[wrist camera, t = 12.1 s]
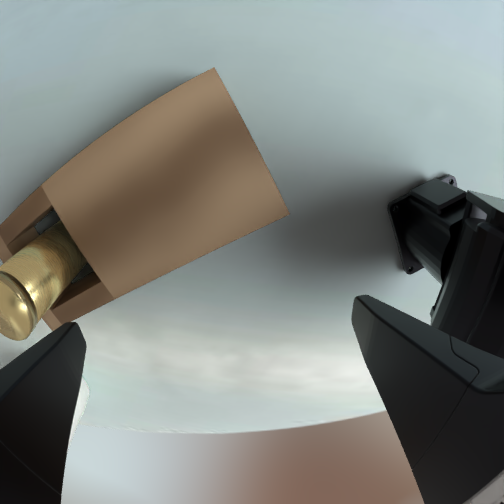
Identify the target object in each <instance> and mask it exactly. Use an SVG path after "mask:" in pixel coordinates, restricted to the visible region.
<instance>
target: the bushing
mask: <svg viewBox="0 0 504 504" xmlns="http://www.w3.org/2000/svg"><path fill="white" fill-rule="evenodd" d="M87 263H88V261H87V260H86V258H85V257H84V255H83V254H82V252H81V251H80V249H79V248H78V246H77V245H76V243H75V241H74V240H73V238H72V237H71V235H70V234H69V232H68V230H67V229H66V227H65V226H64V224H63V222H62V221H61V220H60V221H59V222H57V223H56V224H54V225H53V226H52V227H50V228H49V229H47V230H46V231H45V232H43V233H42V234H41V235H39V236H38V237H37V238H35V239H34V240H33V241H31V242H30V243H29V244H27V245H26V246H25V247H24V248H22V249H21V250H20V251H19V252H17V253H16V254H15V255H14V256H12V257H11V258H10V259H9V260H7V261H6V262H5V263H4V264H3V265H1V266H0V333H1V334H3V335H4V336H6V337H8V338H10V339H12V340H17V341H20V340H24V339H26V338H27V337H28V336H29V335H30V334H31V332H32V331H33V330H34V328H35V327H36V325H37V323H38V322H39V320H40V319H41V318H42V316H43V315H44V314H45V313H46V311H47V310H48V309H49V308H50V306H51V305H52V304H53V303H54V301H55V300H56V299H57V298H58V297H59V295H60V294H61V293H62V292H63V291H64V289H65V288H66V287H67V286H68V285H69V283H70V282H71V281H72V280H73V279H74V278H75V276H76V275H77V274H78V273H79V272H80V271H81V270H82V268H83V267H84V266H85V265H86V264H87Z"/></svg>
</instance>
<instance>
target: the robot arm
mask: <svg viewBox="0 0 504 504" xmlns="http://www.w3.org/2000/svg"><path fill="white" fill-rule="evenodd" d="M450 179H451V182H450V184H449V180H450ZM394 206H396V210H395V211H393V207H394ZM388 213H389V216H390V219H391V223H392V226H393V230H394V233H395V237H396V240H397V244H398V248H399V252H400V255H401V259H402V263H403V268H404V271H405V272H406V273H407V274H413V273H415V272H417V271H418V270H420V269H422V268H425V269H426V270H427V271H428V272H429V273H430V274H431V275H432V276H433V277H434V278H435V279H436V280H437V281H438V282H439V283H440V284H441V285H442V287H441V290H440V292H439V295H438V298H437V300H436V303H435V305H434V306H433V307H432V309H431V312H430V315H431V326H430V325H428V324H426V323H424V322H422V321H420V320H418V319H416V318H414V317H412V316H410V315H408V314H406V313H404V312H402V311H400V310H398V309H396V308H394V307H392V306H389V305H387V304H385V303H383V302H381V301H379V300H377V299H375V298H373V297H371V296H369V295H361V296H356V297H355V299H354V303H353V311H352V325H353V328H354V331H355V334H356V337H357V340H358V343H359V346H360V349H361V352H362V355H363V358H364V360H365V363H366V365H367V368H368V370H369V372H370V374H371V376H372V378H373V381H374V383H375V385H376V387H377V389H378V392H379V394H380V396H381V398H382V400H383V403H384V405H385V407H386V410H387V412H388V414H389V416H390V419H391V421H392V423H393V425H394V428H395V430H396V433H397V435H398V437H399V440H400V442H401V445H402V447H403V449H404V452H405V454H406V457H407V459H408V461H409V464H410V466H411V469H412V472H413V475H414V477H415V479H416V482H417V485H418V487H419V490H420V492H421V495H422V498H423V501H424V503H425V504H504V199H500V198H496V197H493V196H489V195H485V194H481V193H477V192H473V191H469V190H468V191H467V192H465V191H463V190H461V189H459V188H457V183H456V179H455V177H454V176H452V175H446V176H444V177H442V178H440V179H436V178H435V179H433V180H431V181H428V182H426V183H424V184H422V185H420V186H418V187H416V188H414V189H412V190H411V191H410V193H409V194H407V195H405V196H403V197H401V198H398V199H396V200H394V201H392V202H391V203H389V205H388ZM411 266H412V267H411ZM409 267H411V268H410V269H409ZM85 353H86V341H85V339H84V337H83V334H82V332H81V330H80V327H79V325H78V324H77V323H76V322H66V323H64V324H63V325H61V326H60V327H58V328H57V329H55V330H54V331H53V332H51V333H50V334H48V335H47V336H46V337H44V338H43V339H41V340H40V341H39V342H37V343H36V344H34V345H33V346H32V347H30V348H29V349H28V350H26V351H25V352H24V353H22V354H21V355H19V356H18V357H17V358H15V359H14V360H13V361H11V362H10V363H9V364H7V365H6V366H5V367H3V368H2V369H1V370H0V504H61V493H62V485H63V477H64V469H65V462H66V456H67V450H68V444H69V438H70V433H71V428H72V423H73V418H74V413H75V408H76V404H77V400H78V395H79V391H80V386H81V380H82V373H83V366H84V360H85Z"/></svg>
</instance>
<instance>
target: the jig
mask: <svg viewBox="0 0 504 504" xmlns="http://www.w3.org/2000/svg"><path fill="white" fill-rule="evenodd" d="M54 209H55V211H56V212H57V214H58V216H59V217H60V219H61V221H62V222H63V224H64V226H65V227H66V229H67V230H68V232H69V234H70V235H71V237H72V238H73V240H74V241H75V243H76V245H77V246H78V248H79V249H80V251H81V252H82V254H83V255H84V257H85V258H86V260H87V261H88V263H89V264H90V265H91V267H92V268H93V270H94V272H92V273H90V274H89V275H87V276H85V277H84V278H82V279H80V280H79V281H77V282H76V283H74V284H71V282H70V283H69V285H68V286H67V287H66V288H65V289H64V291H63V292H62V293H61V294H60V295H59V297H58V298H57V299H56V300H55V301H54V303H53V304H52V305H51V306H50V308H49V309H48V310H47V311H46V313H45V314H44V315H43V316H42V319H43V320H44V321H45V322H46V324H47V325H48V326H49V327H50V329H51V330H52V331H54V330H55V329H57V328H58V327H60V326H61V325H63V324H64V323H66V322H71V321H73V320H75V319H77V318H79V317H81V316H83V315H85V314H87V313H89V312H91V311H93V310H95V309H97V308H98V307H100V306H102V305H104V304H106V303H108V302H110V301H112V300H114V299H116V298H118V297H120V296H122V295H124V294H126V293H128V292H130V291H132V290H134V289H136V288H138V287H140V286H142V285H144V284H146V283H148V282H150V281H152V280H154V279H156V278H159V277H161V276H163V275H165V274H167V273H169V272H171V271H173V270H175V269H177V268H179V267H181V266H183V265H185V264H187V263H189V262H191V261H193V260H195V259H197V258H199V257H201V256H203V255H206V254H208V253H210V252H212V251H214V250H216V249H218V248H220V247H222V246H224V245H226V244H228V243H230V242H233V241H235V240H237V239H239V238H241V237H243V236H245V235H247V234H249V233H251V232H253V231H256V230H258V229H260V228H262V227H264V226H266V225H268V224H270V223H272V222H275V221H277V220H279V219H281V218H283V217H285V216H287V215H289V214H290V213H289V211H288V209H287V207H286V205H285V203H284V201H283V199H282V197H281V194H280V192H279V190H278V188H277V186H276V184H275V182H274V180H273V178H272V176H271V174H270V172H269V170H268V168H267V166H266V164H265V162H264V160H263V158H262V156H261V154H260V152H259V150H258V148H257V146H256V144H255V142H254V140H253V139H252V137H251V135H250V133H249V131H248V129H247V127H246V125H245V123H244V121H243V119H242V117H241V116H240V114H239V112H238V110H237V108H236V106H235V104H234V102H233V101H232V99H231V97H230V95H229V93H228V91H227V89H226V88H225V86H224V84H223V82H222V80H221V79H220V77H219V75H218V73H217V71H216V70H215V68H212V69H210V70H208V71H206V72H204V73H202V74H200V75H198V76H196V77H194V78H193V79H191V80H189V81H187V82H185V83H183V84H182V85H180V86H178V87H176V88H175V89H173V90H171V91H169V92H168V93H166V94H164V95H163V96H161V97H159V98H158V99H156V100H154V101H153V102H151V103H149V104H148V105H146V106H145V107H143V108H141V109H140V110H138V111H137V112H135V113H134V114H132V115H131V116H129V117H128V118H126V119H125V120H123V121H122V122H120V123H119V124H117V125H116V126H115V127H113V128H112V129H110V130H109V131H108V132H106V133H105V134H103V135H102V136H101V137H99V138H98V139H97V140H95V141H94V142H93V143H91V144H90V145H89V146H87V147H86V148H85V149H83V150H82V151H81V152H80V153H78V154H77V155H76V156H75V157H73V158H72V159H71V160H70V161H68V162H67V163H66V164H65V165H64V166H62V167H61V168H60V169H59V170H58V171H57V172H55V173H54V174H53V175H52V176H51V177H50V178H48V179H47V180H46V181H45V182H44V183H43V184H42V185H41V186H40V187H38V188H37V189H36V190H35V191H34V192H33V193H32V194H31V195H30V196H29V197H28V198H27V199H26V200H25V201H24V202H23V203H22V204H21V205H20V206H19V207H18V208H17V209H16V210H15V211H14V212H13V213H12V214H11V215H10V216H9V217H8V218H7V219H6V220H5V221H4V222H3V223H2V224H1V225H0V259H1V260H2V262H3V263H5V262H6V261H7V260H9V259H10V258H11V257H12V256H14V255H15V254H16V253H17V252H19V251H20V250H21V249H22V248H24V247H25V246H26V245H27V244H29V243H30V242H31V241H33V240H34V239H35V238H37V237H38V236H39V234H38V233H37V231H36V229H35V228H34V226H35V225H36V224H37V223H38V222H40V221H41V220H42V219H43V218H44V217H46V216H47V215H48V214H49V213H50V212H51V211H53V210H54Z"/></svg>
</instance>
